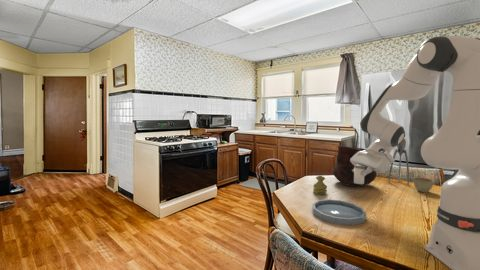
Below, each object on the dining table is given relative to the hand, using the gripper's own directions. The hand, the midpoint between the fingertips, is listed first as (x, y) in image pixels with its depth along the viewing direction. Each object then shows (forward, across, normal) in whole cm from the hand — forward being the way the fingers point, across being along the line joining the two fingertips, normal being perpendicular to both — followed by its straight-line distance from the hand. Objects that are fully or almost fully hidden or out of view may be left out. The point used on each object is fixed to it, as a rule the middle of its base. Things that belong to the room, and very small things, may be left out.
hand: (358, 173), depth 115 cm
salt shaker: (+16, -24, +8) cm, 30 cm away
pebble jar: (+3, 0, +4) cm, 5 cm away
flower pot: (-28, -15, +52) cm, 61 cm away
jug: (-6, -35, +29) cm, 46 cm away
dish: (+21, +4, +3) cm, 22 cm away
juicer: (-28, -30, +52) cm, 66 cm away
